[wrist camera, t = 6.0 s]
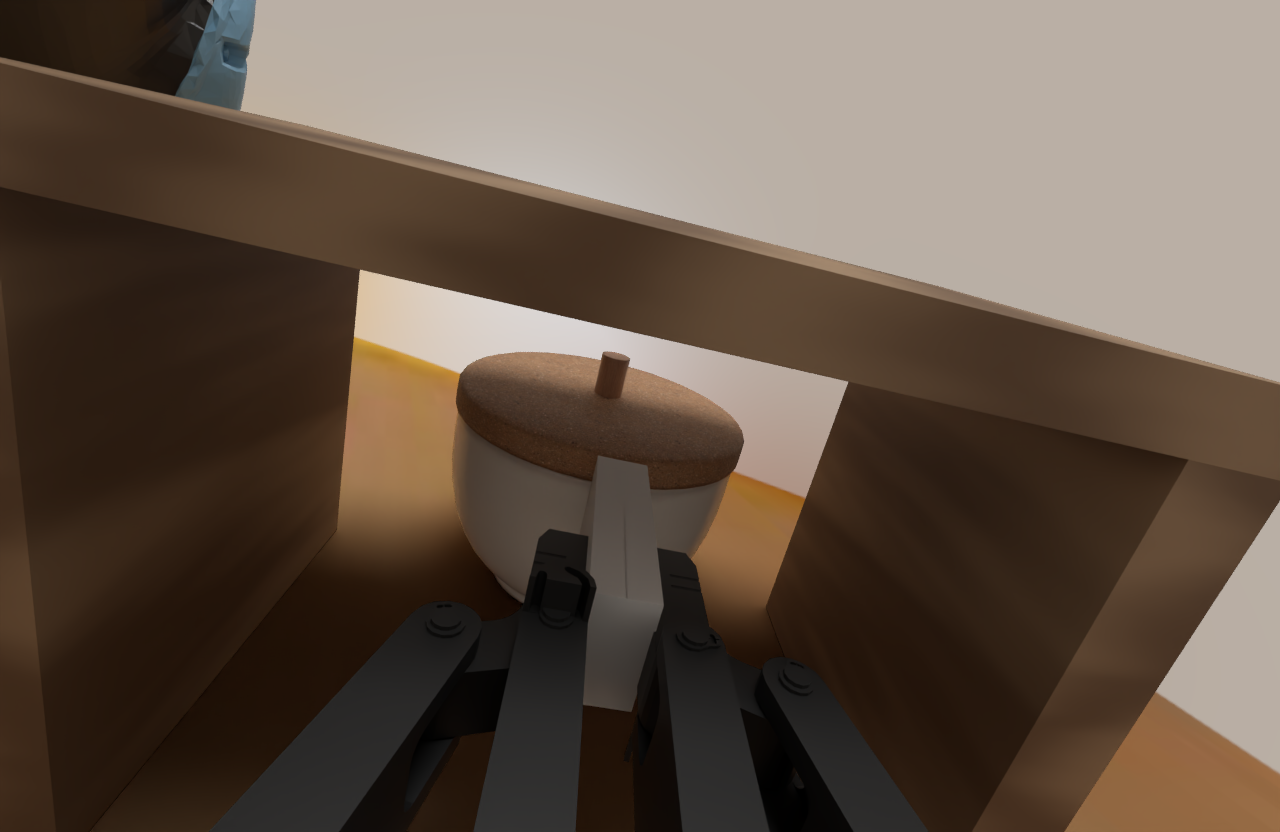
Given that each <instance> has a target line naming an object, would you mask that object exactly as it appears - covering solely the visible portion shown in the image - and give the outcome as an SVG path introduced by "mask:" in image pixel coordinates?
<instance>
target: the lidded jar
mask: <svg viewBox="0 0 1280 832" xmlns="http://www.w3.org/2000/svg"><path fill="white" fill-rule="evenodd" d="M629 361H630V358H628V357H627V356H625V355H622V354H619V353H615V352H603V354H602V358H601V360H597V359H591V358H586V357H581V356H573V355H565V354H555V353H538V352H516V353H507V354H498V355H493V356H488V357H485V358H482V359H479V360H476V361H475V362H473V363H471V364H470V365H468V366H467V367H466V368H465V369H464V371H463V372H462V373H461V374H460V378H459V383H458V389H457V396H456V405H457V409H458V414H457V420H456V426H455V433H454V443H453V453H452V479H453V488H454V497H455V503H456V509H457V513H458V516H459V519H460V523H461V526H462V528H463V530H464V532H465V535H466V537H467V539H468V541H469V542H470V544H471V546H472V548H473V550H474V551H475V553H476V554H477V555H478V556H479V558H480V559H481V560H482V561H483V563H484V564H485V565H486V566H487V567H488V569H489V570H491V571H492V572H493V573H494V576H495V578H496V580H497V582H498V583H499V584H500V585H501V587H502V588H503V589H504V590H505V591H506V592H507V593H508V594H509V595H510V596H512V597H513V598H515V599H516V600H518V601H519V602H521V603H524V600H525V595H526V590H527V585H528V581H529V576H530V574H531V570H532V565H533V561H534V556H535V552H536V548H537V543H538V539H539V537H540V536H542V535H543V534H544V533H545V532H546V531H547V530H548V529H554V530H559V531H564V532H569V533H575V534H580V529H581V525H582V521H583V517H584V513H585V508H586V504H587V500H588V496H589V492H590V487H591V483H592V479H593V475H594V471H595V466H596V462H597V458H598V456H603V457H608V458H613V459H618V460H622V461H627V462H632V463H637V464H642V465H647V467H648V476H649V484H650V493H651V501H652V509H653V518H654V526H655V535H656V543H657V548H661V549H666V550H671V551H677V552H682V553H686V554H687V556H688V557H689V558H690V559H691V558H692V557H693V555H694V554H695V553H696V551H697V549H698V548H699V546H700V545H701V543H702V541H703V540H704V538H705V537H706V535H707V533H708V531H709V529H710V527H711V525H712V523H713V521H714V519H715V516H716V514H717V512H718V509H719V506H720V503H721V501H722V498H723V495H724V493H725V490H726V486H727V483H728V480H729V477H730V474H731V472H732V471H733V470H734V469H735V467H736V465H737V463H738V460H739V456H740V454H741V450H742V447H743V444H744V439H743V434H742V430H741V429H740V427H739V425H738V424H737V422H736V421H735V420H734V419H733V418H732V416H731V415H730V414H728V413H727V412H726V411H725V410H723V409H722V408H721V407H719V406H718V405H716V404H715V403H713V402H712V401H710V400H709V399H707V398H706V397H704V396H702V395H700V394H698V393H696V392H694V391H692V390H690V389H688V388H686V387H684V386H682V385H680V384H677V383H675V382H672V381H670V380H667V379H664V378H662V377H659V376H656V375H653V374H651V373H648V372H644V371H641V370H637V369H634V368H630V367H628V365H629Z"/></svg>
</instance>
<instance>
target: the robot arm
mask: <svg viewBox="0 0 1280 832" xmlns="http://www.w3.org/2000/svg"><path fill="white" fill-rule="evenodd" d="M255 4H256V0H0V57H2V58H6V59H11V60H15V61H20V62H24V63H29V64H33V65H38V66H42V67H46V68H51V69H55V70H60V71H64V72H69V73H73V74H78V75H82V76H87V77H91V78H96V79H100V80H104V81H109V82H113V83H118V84H122V85H127V86H131V87H136V88H140V89H145V90H149V91H154V92H158V93H162V94H167V95H171V96H176V97H180V98H185V99H189V100H194V101H198V102H203V103H207V104H212V105H216V106H220V107H225V108H229V109H234V110H238V111H240V109H241V104H242V99H243V94H244V88H245V81H246V75H247V64H246V58H247V56H248V54H249V46H250V41H251V37H252V32H253V25H254V16H255ZM698 581H699V578H698V573H697V569H696V566H695V564H694V563H693V562H692V561H691V559H690V558H689V557H688V556H687V554H686V553H682V552H677V551H671V550H666V549H661V548H657V543H656V535H655V526H654V518H653V509H652V501H651V493H650V484H649V476H648V467H647V465H642V464H637V463H632V462H627V461H622V460H618V459H613V458H608V457H603V456H598V458H597V462H596V466H595V471H594V475H593V479H592V483H591V487H590V492H589V496H588V500H587V504H586V508H585V513H584V517H583V521H582V525H581V529H580V534H575V533H569V532H564V531H559V530H554V529H548V530H547V531H546V532H545V533H544V534H543V535H542V536H540V537H539V539H538V543H537V548H536V552H535V556H534V561H533V565H532V570H531V574H530V576H529V581H528V585H527V590H526V595H525V600H524V603H523V605H522V607H521V608H520V609H519V610H518V611H517V612H516V613H514V614H512V615H511V616H509V617H506V618H503V619H499V620H492V621H481V619H480V617H479V615H478V614H477V613H476V612H475V611H474V610H473V609H472V608H470V607H468V606H466V605H464V604H462V603H457V602H452V601H436V602H432V603H429V604H426V605H422V606H421V607H419V608H418V609H417V610H415V611H414V612H413V613H412V614H411V615H410V616H409V617H408V618H407V619H406V620H405V621H404V622H403V623H402V624H401V625H400V626H399V628H398V629H397V630H396V631H395V632H394V633H393V634H392V635H391V636H390V637H389V638H388V639H387V640H386V642H385V643H384V644H383V645H382V646H381V647H380V648H379V649H378V650H377V651H376V652H375V653H374V654H373V655H372V657H371V658H370V659H369V660H368V661H367V662H366V663H365V664H364V665H363V666H362V667H361V668H360V669H359V671H358V672H357V673H356V674H355V675H354V676H353V677H352V678H351V679H350V680H349V681H348V682H347V683H346V685H345V686H344V687H343V688H342V689H341V690H340V691H339V692H338V693H337V694H336V695H335V696H334V697H333V698H332V700H331V701H330V702H329V703H328V704H327V705H326V706H325V707H324V708H323V709H322V710H321V711H320V712H319V714H318V715H317V716H316V717H315V718H314V719H313V720H312V721H311V722H310V723H309V724H308V725H307V726H306V728H305V729H304V730H303V731H302V732H301V733H300V734H299V735H298V736H297V737H296V738H295V739H294V740H293V742H292V743H291V744H290V745H289V746H288V747H287V748H286V749H285V750H284V751H283V752H282V753H281V754H280V755H279V757H278V758H277V759H276V760H275V761H274V762H273V763H272V764H271V765H270V766H269V767H268V768H267V769H266V771H265V772H264V773H263V774H262V775H261V776H260V777H259V778H258V779H257V780H256V781H255V782H254V783H253V785H252V786H251V787H250V788H249V789H248V790H247V791H246V792H245V793H244V794H243V795H242V796H241V797H240V798H239V800H238V801H237V802H236V803H235V804H234V805H233V806H232V807H231V808H230V809H229V810H228V811H227V812H226V814H225V815H224V816H223V817H222V818H221V819H220V820H219V821H218V822H217V823H216V824H215V825H214V826H213V828H212V829H211V830H210V831H209V832H406V830H407V828H408V827H409V825H410V823H411V822H412V820H413V818H414V817H415V815H416V813H417V812H418V810H419V808H420V807H421V805H422V803H423V802H424V800H425V798H426V797H427V795H428V793H429V792H430V790H431V788H432V787H433V785H434V783H435V782H436V780H437V778H438V777H439V775H440V773H441V772H442V770H443V768H444V767H445V765H446V763H447V762H448V760H449V758H450V757H451V755H452V753H453V752H454V750H455V748H456V747H457V745H458V743H459V740H460V737H461V736H463V735H470V734H477V733H484V732H492V731H495V736H494V740H493V745H492V750H491V754H490V759H489V763H488V768H487V772H486V777H485V781H484V786H483V790H482V795H481V799H480V804H479V809H478V813H477V818H476V822H475V827H474V831H473V832H575V830H576V813H577V797H578V780H579V764H580V747H581V731H582V714H583V705H589V706H596V707H602V708H608V709H615V710H621V711H627V712H632V709H633V705H634V702H635V699H636V696H637V698H638V712H637V716H636V719H635V722H634V725H633V729H632V732H631V735H630V738H629V742H628V745H627V748H626V751H625V756H624V760H623V761H625V762H629V759H630V756H631V753H632V752H633V786H634V821H635V832H929V831H928V830H927V829H926V827H925V826H924V824H923V823H922V821H921V820H920V819H919V817H918V816H917V814H916V813H915V811H914V810H913V809H912V807H911V806H910V804H909V803H908V801H907V800H906V798H905V797H904V796H903V794H902V793H901V791H900V790H899V788H898V787H897V786H896V784H895V783H894V781H893V780H892V778H891V777H890V776H889V774H888V773H887V771H886V770H885V768H884V767H883V765H882V764H881V763H880V761H879V760H878V758H877V757H876V755H875V754H874V753H873V751H872V750H871V748H870V747H869V745H868V744H867V742H866V741H865V740H864V738H863V737H862V735H861V734H860V732H859V731H858V730H857V728H856V727H855V725H854V724H853V722H852V721H851V720H850V718H849V717H848V715H847V714H846V712H845V711H844V709H843V708H842V707H841V705H840V704H839V702H838V701H837V699H836V698H835V697H834V695H833V694H832V692H831V691H830V689H829V688H828V687H827V685H826V684H825V682H824V681H823V680H822V679H821V677H820V676H819V675H818V674H817V673H816V672H815V671H814V670H812V669H811V668H809V667H808V666H806V665H805V664H803V663H801V662H799V661H796V660H794V659H791V658H784V657H776V658H771V659H769V660H768V661H767V662H766V663H765V664H764V665H763V668H762V670H760V669H758V668H755V667H753V666H750V665H748V664H746V663H743V662H741V661H739V660H737V659H735V658H733V657H731V656H730V655H729V654H727V652H726V648H725V645H724V643H723V641H722V639H721V637H720V636H719V635H718V634H717V633H716V632H715V631H714V630H713V629H712V628H710V627H709V624H708V619H707V615H706V610H705V606H704V601H703V596H702V593H701V587H700V582H698ZM796 772H797V773H798V774H797V773H796ZM798 775H799V776H798ZM799 777H800V778H801V780H802V781H801V780H800V778H799ZM802 782H803V783H802Z"/></svg>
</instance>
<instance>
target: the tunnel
mask: <svg viewBox="0 0 1280 832" xmlns="http://www.w3.org/2000/svg"><path fill="white" fill-rule="evenodd" d="M360 270H365V271H369V272H373V273H378V274H382V275H386V276H391V277H395V278H399V279H404V280H408V281H412V282H417V283H421V284H426V285H430V286H434V287H439V288H443V289H448V290H452V291H456V292H461V293H465V294H469V295H474V296H478V297H483V298H486V299H491V300H495V301H500V302H504V303H509V304H513V305H517V306H522V307H526V308H530V309H535V310H539V311H543V312H548V313H552V314H557V315H561V316H565V317H569V318H574V319H578V320H582V321H587V322H591V323H595V324H600V325H604V326H608V327H613V328H617V329H622V330H626V331H631V332H635V333H639V334H643V335H648V336H652V337H657V338H661V339H665V340H669V341H674V342H679V343H683V344H687V345H692V346H696V347H700V348H704V349H709V350H714V351H718V352H722V353H726V354H730V355H735V356H740V357H744V358H748V359H752V360H757V361H761V362H766V363H770V364H774V365H778V366H783V367H787V368H791V369H796V370H800V371H805V372H809V373H814V374H818V375H822V376H826V377H831V378H836V379H840V380H844V381H848V385H847V388H846V390H845V393H844V396H843V399H842V401H841V404H840V407H839V409H838V412H837V415H836V418H835V421H834V423H833V426H832V429H831V431H830V434H829V437H828V439H827V442H826V445H825V447H824V450H823V453H822V456H821V459H820V461H819V464H818V466H817V469H816V472H815V475H814V478H813V480H812V483H811V486H810V488H809V491H808V494H807V496H806V499H805V502H804V505H803V507H802V510H801V513H800V515H799V518H798V521H797V524H796V526H795V529H794V532H793V535H792V537H791V540H790V543H789V545H788V548H787V551H786V554H785V556H784V559H783V562H782V564H781V567H780V570H779V573H778V575H777V578H776V581H775V583H774V586H773V589H772V592H771V594H770V597H769V600H768V603H767V605H766V608H767V611H768V614H769V616H770V619H771V622H772V624H773V627H774V630H775V632H776V635H777V638H778V640H779V643H780V646H781V648H782V651H783V654H784V656H785V658H791V659H794V660H796V661H799V662H801V663H803V664H805V665H806V666H808V667H809V668H811V669H812V670H814V671H815V672H816V673H817V674H818V675H819V676H820V677H821V679H822V680H823V681H824V682H825V684H826V685H827V687H828V688H829V689H830V691H831V692H832V694H833V695H834V697H835V698H836V699H837V701H838V702H839V704H840V705H841V707H842V708H843V709H844V711H845V712H846V714H847V715H848V717H849V718H850V720H851V721H852V722H853V724H854V725H855V727H856V728H857V730H858V731H859V732H860V734H861V735H862V737H863V738H864V740H865V741H866V742H867V744H868V745H869V747H870V748H871V750H872V751H873V753H874V754H875V755H876V757H877V758H878V760H879V761H880V763H881V764H882V765H883V767H884V768H885V770H886V771H887V773H888V774H889V776H890V777H891V778H892V780H893V781H894V783H895V784H896V786H897V787H898V788H899V790H900V791H901V793H902V794H903V796H904V797H905V798H906V800H907V801H908V803H909V804H910V806H911V807H912V809H913V810H914V811H915V813H916V814H917V816H918V817H919V819H920V820H921V821H922V823H923V824H924V826H925V827H926V829H927V830H928V831H929V832H1064V831H1065V830H1066V828H1067V827H1068V825H1069V823H1070V822H1071V820H1072V819H1073V817H1074V816H1075V814H1076V813H1077V811H1078V810H1079V808H1080V807H1081V805H1082V804H1083V802H1084V800H1085V799H1086V797H1087V796H1088V794H1089V793H1090V791H1091V790H1092V788H1093V787H1094V785H1095V784H1096V782H1097V781H1098V779H1099V777H1100V776H1101V774H1102V773H1103V771H1104V770H1105V768H1106V767H1107V765H1108V764H1109V762H1110V761H1111V759H1112V757H1113V756H1114V754H1115V753H1116V751H1117V750H1118V748H1119V747H1120V745H1121V744H1122V742H1123V741H1124V739H1125V738H1126V736H1127V734H1128V733H1129V731H1130V730H1131V728H1132V727H1133V725H1134V724H1135V722H1136V721H1137V719H1138V718H1139V716H1140V715H1141V713H1142V711H1143V710H1144V708H1145V707H1146V705H1147V704H1148V702H1149V701H1150V699H1151V698H1152V696H1153V695H1154V693H1155V691H1156V690H1157V688H1158V687H1159V685H1160V683H1161V682H1162V681H1163V679H1164V678H1165V676H1166V675H1167V673H1168V671H1169V670H1170V668H1171V667H1172V665H1173V664H1174V662H1175V661H1176V659H1177V658H1178V656H1179V655H1180V653H1181V652H1182V650H1183V649H1184V647H1185V645H1186V644H1187V642H1188V641H1189V639H1190V638H1191V636H1192V635H1193V633H1194V632H1195V630H1196V628H1197V627H1198V625H1199V624H1200V622H1201V621H1202V619H1203V618H1204V616H1205V615H1206V613H1207V611H1208V610H1209V609H1210V607H1211V605H1212V604H1213V602H1214V601H1215V599H1216V598H1217V596H1218V594H1219V593H1220V591H1221V590H1222V589H1223V587H1224V586H1225V584H1226V583H1227V581H1228V579H1229V578H1230V576H1231V575H1232V573H1233V572H1234V570H1235V569H1236V567H1237V566H1238V564H1239V563H1240V561H1241V560H1242V558H1243V556H1244V555H1245V553H1246V552H1247V550H1248V549H1249V547H1250V546H1251V544H1252V542H1253V541H1254V540H1255V538H1256V536H1257V535H1258V533H1259V532H1260V530H1261V529H1262V527H1263V526H1264V524H1265V523H1266V521H1267V520H1268V518H1269V517H1270V515H1271V513H1272V512H1273V510H1274V509H1275V507H1276V506H1277V504H1278V503H1279V501H1280V383H1279V382H1276V381H1272V380H1269V379H1265V378H1262V377H1258V376H1255V375H1251V374H1247V373H1244V372H1240V371H1237V370H1233V369H1230V368H1226V367H1223V366H1219V365H1215V364H1212V363H1208V362H1205V361H1201V360H1198V359H1194V358H1191V357H1187V356H1183V355H1180V354H1177V353H1173V352H1169V351H1166V350H1162V349H1158V348H1155V347H1151V346H1148V345H1145V344H1141V343H1138V342H1134V341H1130V340H1127V339H1123V338H1120V337H1116V336H1112V335H1109V334H1106V333H1102V332H1099V331H1095V330H1091V329H1088V328H1084V327H1081V326H1077V325H1073V324H1070V323H1067V322H1063V321H1060V320H1056V319H1052V318H1049V317H1045V316H1042V315H1038V314H1034V313H1031V312H1028V311H1024V310H1021V309H1017V308H1013V307H1010V306H1006V305H1003V304H999V303H996V302H992V301H989V300H985V299H982V298H978V297H974V296H971V295H967V294H963V293H960V292H956V291H953V290H950V289H946V288H943V287H939V286H935V285H931V284H927V283H923V282H919V281H915V280H911V279H907V278H903V277H899V276H895V275H892V274H887V273H884V272H880V271H875V270H872V269H868V268H864V267H860V266H856V265H852V264H848V263H844V262H841V261H837V260H833V259H829V258H825V257H821V256H817V255H813V254H809V253H805V252H801V251H797V250H793V249H789V248H785V247H781V246H778V245H773V244H770V243H765V242H762V241H758V240H754V239H750V238H746V237H742V236H738V235H734V234H730V233H726V232H723V231H719V230H714V229H711V228H707V227H703V226H699V225H695V224H691V223H687V222H683V221H679V220H675V219H671V218H667V217H663V216H660V215H655V214H651V213H648V212H644V211H640V210H636V209H632V208H628V207H624V206H620V205H616V204H612V203H608V202H604V201H600V200H597V199H593V198H589V197H585V196H581V195H577V194H573V193H569V192H565V191H561V190H557V189H553V188H549V187H545V186H541V185H538V184H534V183H530V182H526V181H522V180H518V179H514V178H510V177H506V176H502V175H498V174H494V173H490V172H486V171H482V170H479V169H475V168H471V167H467V166H463V165H459V164H455V163H451V162H447V161H443V160H439V159H435V158H431V157H427V156H423V155H420V154H416V153H411V152H408V151H404V150H400V149H396V148H392V147H388V146H384V145H380V144H376V143H372V142H368V141H364V140H360V139H356V138H353V137H349V136H345V135H341V134H337V133H333V132H329V131H324V130H321V129H317V128H313V127H309V126H305V125H301V124H296V123H292V122H287V121H283V120H278V119H274V118H270V117H265V116H260V115H256V114H252V113H247V112H243V111H238V110H234V109H229V108H225V107H220V106H216V105H212V104H207V103H203V102H198V101H194V100H189V99H185V98H180V97H176V96H171V95H167V94H162V93H158V92H154V91H149V90H145V89H140V88H136V87H131V86H127V85H122V84H118V83H113V82H109V81H104V80H100V79H96V78H91V77H87V76H82V75H78V74H73V73H69V72H64V71H60V70H55V69H51V68H46V67H42V66H38V65H33V64H29V63H24V62H20V61H15V60H11V59H6V58H2V57H0V832H89V831H90V829H91V828H92V827H93V826H94V825H95V823H96V822H97V821H98V820H99V819H100V817H101V816H102V815H103V814H104V812H105V811H106V810H107V809H108V808H109V806H110V805H111V804H112V803H113V801H114V800H115V799H116V798H117V797H118V795H119V794H120V793H121V792H122V790H123V789H124V788H125V787H126V786H127V784H128V783H129V782H130V781H131V780H132V778H133V777H134V776H135V775H136V773H137V772H138V771H139V770H140V769H141V767H142V766H143V765H144V764H145V762H146V761H147V760H148V759H149V758H150V756H151V755H152V754H153V753H154V752H155V750H156V749H157V748H158V747H159V745H160V744H161V743H162V742H163V741H164V739H165V738H166V737H167V736H168V734H169V733H170V732H171V731H172V730H173V728H174V727H175V726H176V725H177V723H178V722H179V721H180V720H181V719H182V717H183V716H184V715H185V714H186V713H187V711H188V710H189V709H190V708H191V706H192V705H193V704H194V703H195V702H196V700H197V699H198V698H199V697H200V695H201V694H202V693H203V692H204V691H205V689H206V688H207V687H208V686H209V685H210V683H211V682H212V681H213V680H214V678H215V677H216V676H217V675H218V674H219V672H220V671H221V670H222V669H223V667H224V666H225V665H226V664H227V663H228V661H229V660H230V659H231V658H232V656H233V655H234V654H235V653H236V652H237V650H238V649H239V648H240V647H241V646H242V644H243V643H244V642H245V641H246V639H247V638H248V637H249V636H250V635H251V633H252V632H253V631H254V630H255V628H256V627H257V626H258V625H259V624H260V622H261V621H262V620H263V619H264V618H265V616H266V615H267V614H268V613H269V611H270V610H271V609H272V608H273V607H274V605H275V604H276V603H277V602H278V600H279V599H280V598H281V597H282V596H283V594H284V593H285V592H286V591H287V589H288V588H289V587H290V586H291V585H292V583H293V582H294V581H295V580H296V579H297V577H298V576H299V575H300V574H301V572H302V571H303V570H304V569H305V568H306V566H307V565H308V564H309V563H310V561H311V560H312V559H313V558H314V557H315V555H316V554H317V553H318V552H319V551H320V549H321V548H322V547H323V546H324V544H325V543H326V542H327V541H328V540H329V538H330V537H331V536H332V535H333V533H334V532H335V531H336V530H337V519H338V508H339V497H340V486H341V474H342V463H343V452H344V441H345V429H346V418H347V407H348V396H349V384H350V373H351V362H352V351H353V339H354V328H355V316H356V305H357V294H358V282H359V271H360Z"/></svg>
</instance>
